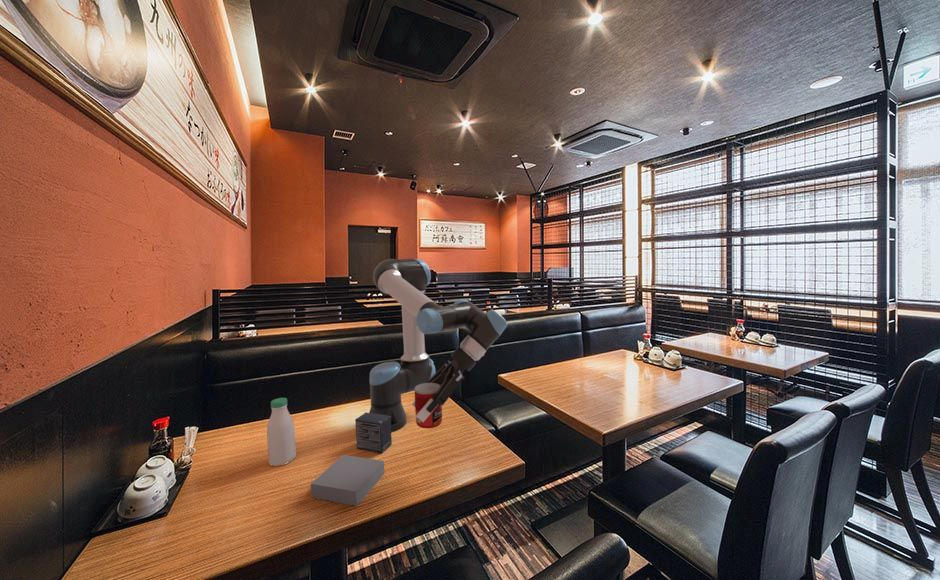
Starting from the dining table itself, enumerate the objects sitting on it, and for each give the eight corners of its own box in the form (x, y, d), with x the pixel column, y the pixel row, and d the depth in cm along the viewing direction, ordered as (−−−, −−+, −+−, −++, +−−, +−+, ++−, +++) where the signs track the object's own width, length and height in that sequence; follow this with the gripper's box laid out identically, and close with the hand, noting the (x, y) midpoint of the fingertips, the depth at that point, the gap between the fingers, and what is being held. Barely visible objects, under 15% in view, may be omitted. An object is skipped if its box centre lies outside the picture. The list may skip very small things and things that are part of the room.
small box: (393, 444, 117) (391, 415, 116) (382, 454, 111) (381, 423, 110) (367, 439, 120) (366, 411, 120) (355, 449, 114) (354, 419, 113)
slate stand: (343, 467, 104) (343, 454, 103) (384, 473, 100) (383, 460, 100) (311, 497, 90) (310, 483, 90) (357, 506, 87) (356, 491, 86)
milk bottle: (301, 456, 110) (297, 397, 109) (279, 469, 103) (275, 406, 102) (285, 451, 114) (282, 394, 112) (263, 463, 107) (259, 402, 105)
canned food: (438, 430, 96) (437, 392, 95) (411, 427, 97) (410, 391, 97) (445, 417, 103) (444, 383, 102) (420, 416, 105) (419, 381, 104)
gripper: (488, 371, 94) (433, 436, 90) (466, 353, 113) (421, 406, 110) (469, 354, 92) (412, 421, 88) (451, 339, 111) (404, 392, 108)
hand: (417, 412), depth 99 cm, fingers closed on canned food, 8 cm apart
